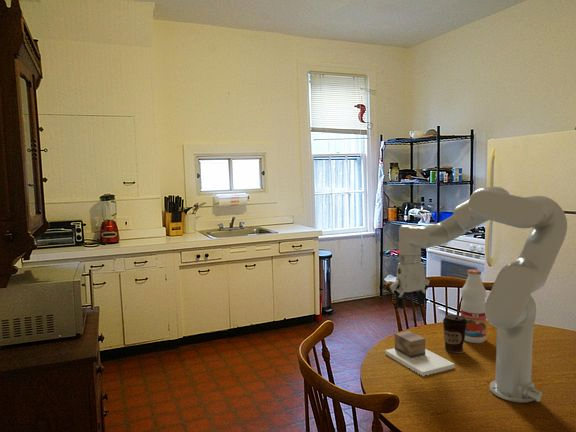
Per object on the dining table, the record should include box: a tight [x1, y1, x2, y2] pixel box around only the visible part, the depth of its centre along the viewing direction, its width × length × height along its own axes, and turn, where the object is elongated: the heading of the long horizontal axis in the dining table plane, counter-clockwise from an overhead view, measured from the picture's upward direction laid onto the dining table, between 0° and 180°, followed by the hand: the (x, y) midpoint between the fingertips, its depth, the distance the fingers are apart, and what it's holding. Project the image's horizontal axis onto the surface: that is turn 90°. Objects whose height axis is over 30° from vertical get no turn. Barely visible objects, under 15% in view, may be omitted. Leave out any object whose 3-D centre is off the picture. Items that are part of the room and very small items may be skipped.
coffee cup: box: [442, 314, 467, 354], centre depth 161 cm, size 9×8×13 cm
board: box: [384, 347, 456, 377], centre depth 153 cm, size 20×14×2 cm
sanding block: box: [394, 330, 426, 358], centre depth 157 cm, size 9×6×6 cm
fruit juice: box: [460, 268, 487, 344], centre depth 171 cm, size 9×9×28 cm
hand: (410, 305), depth 156 cm, fingers open, 9 cm apart
